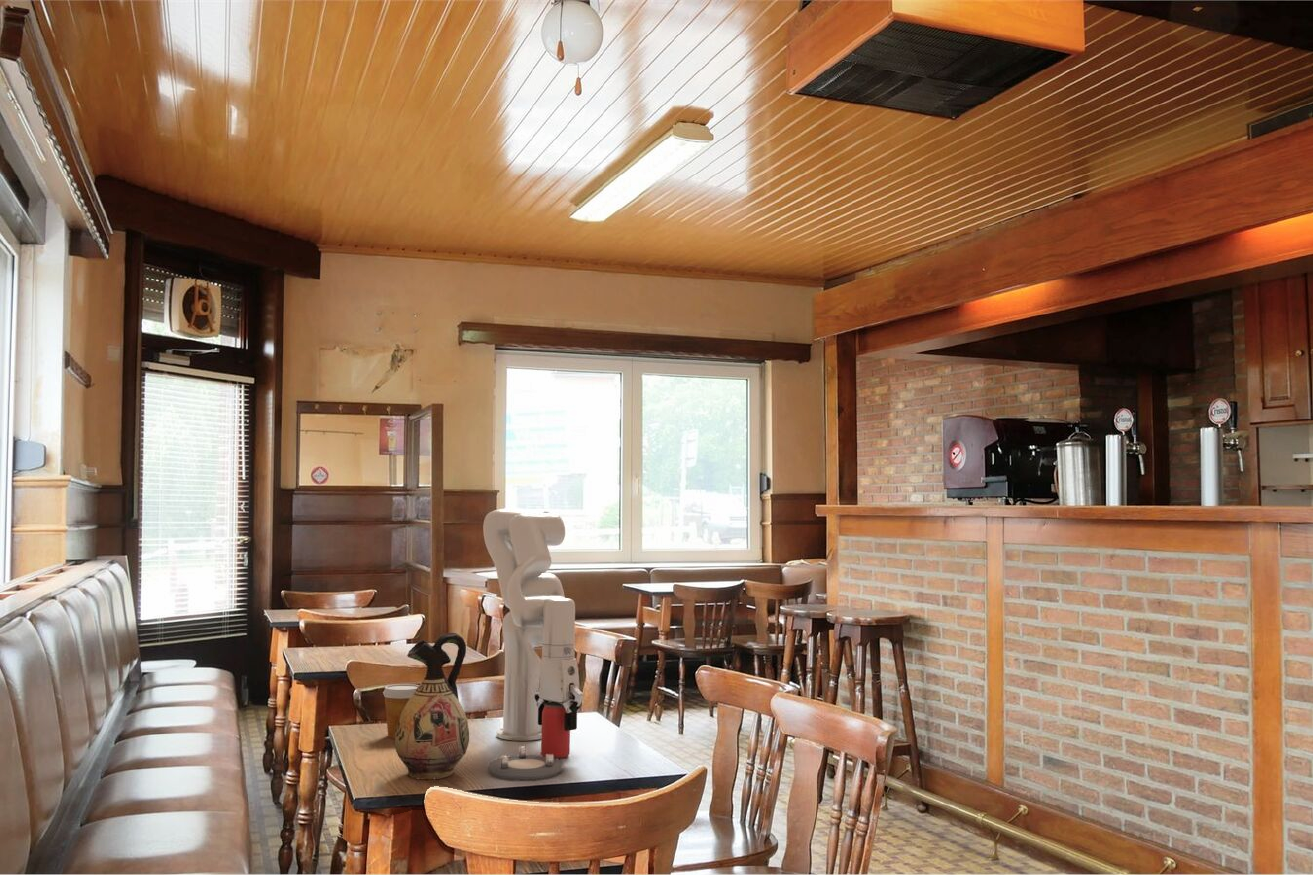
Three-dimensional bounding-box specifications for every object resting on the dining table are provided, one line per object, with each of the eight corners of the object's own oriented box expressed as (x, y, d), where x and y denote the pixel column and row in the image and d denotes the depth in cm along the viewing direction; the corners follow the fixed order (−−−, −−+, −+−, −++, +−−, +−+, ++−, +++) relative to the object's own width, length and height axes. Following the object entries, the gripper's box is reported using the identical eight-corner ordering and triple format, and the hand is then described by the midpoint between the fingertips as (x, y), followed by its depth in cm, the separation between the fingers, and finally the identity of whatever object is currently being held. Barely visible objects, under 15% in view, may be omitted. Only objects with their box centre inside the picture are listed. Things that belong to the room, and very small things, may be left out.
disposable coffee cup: (428, 734, 257) (430, 686, 258) (400, 741, 249) (402, 691, 250) (401, 730, 262) (403, 682, 263) (372, 736, 254) (374, 687, 255)
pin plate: (532, 758, 234) (532, 751, 235) (577, 772, 223) (577, 764, 223) (473, 769, 223) (473, 762, 223) (517, 784, 212) (517, 776, 212)
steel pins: (522, 756, 230) (523, 745, 230) (554, 766, 222) (554, 754, 222) (485, 763, 223) (486, 751, 223) (517, 773, 215) (517, 761, 215)
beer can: (573, 754, 239) (575, 702, 240) (562, 760, 233) (563, 707, 234) (548, 751, 241) (549, 700, 242) (535, 758, 235) (537, 704, 236)
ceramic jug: (400, 787, 208) (406, 637, 210) (388, 769, 222) (393, 629, 225) (483, 780, 215) (487, 635, 217) (466, 763, 229) (470, 627, 231)
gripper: (594, 653, 235) (593, 730, 233) (547, 647, 247) (546, 720, 246) (569, 656, 230) (568, 734, 228) (522, 649, 242) (521, 724, 240)
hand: (557, 727), depth 237 cm, fingers open, 9 cm apart
